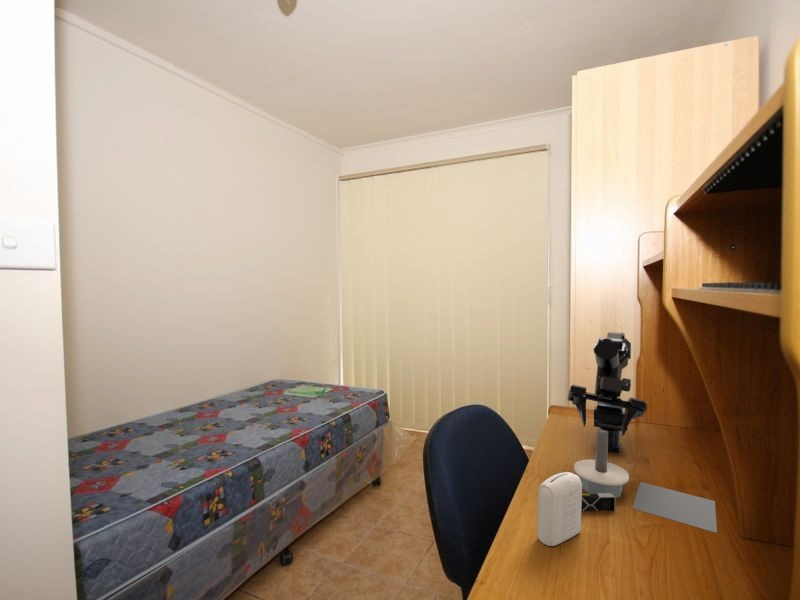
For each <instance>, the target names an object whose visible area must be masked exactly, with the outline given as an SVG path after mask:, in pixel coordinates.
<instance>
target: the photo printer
mask: <svg viewBox="0 0 800 600" xmlns="http://www.w3.org/2000/svg"><path fill="white" fill-rule="evenodd" d="M582 494H583V488H582V482H581V480H580V478H579V475H578V474H574V473H573V472H570V471H569V472H568V471H565V472H559V473H556V474H554V475H552V476H550V477H548V478H546V480H544V481H542V483H541V484H540V486H539V487H538V495H537V496H538V497H537V524H536V525H537V526H536V527H537V529H536V530H537V531H536V532H537V533H536V534H537V535H536V536H537V538H538V539H539V541H540V542H541V543H542V544H543V545H546V546H548V547H551V546H552V547H553V546H557V545H559V544H562V543H564V542H566V541H567V540H569V539H571V538H573V537H575V536H576V535H577V534H579V533H580V532H581V529H582V511H581V506H582Z"/></svg>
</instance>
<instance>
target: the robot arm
mask: <svg viewBox="0 0 800 600" xmlns="http://www.w3.org/2000/svg"><path fill="white" fill-rule="evenodd" d="M625 335H626V334H625V333H624V332H618V331H610V332H607V335H606V337H598V340H596V342H595V344H594V347H593V353H594V357H595V362H596V364H597V365H596V366H597V367H596V378H595V385H594V386H595V387H594V388H595V389H594V393H593V392H587V386H582V385H577V384H572V385H570V386H569V390H568V394H567V401H569V402H571V404H572V405H575V407H576V409H577V411H578V414H579V416H580V420H581V423H582V426H583V427H585V426H586V424H587V423H586V422H587V400H589V401H592V402H597V403H596V406H594V409H593V427H594V428H599V429H602V430H606V431H608V451H610V452H614V453H620V452H621V450H622V448H623V444H621V443H620V441H621V437H624V436H625V434H626V432H628V430H629V424H630V423H631V422H632V420H636V419H637V418H642V417H643V416H644V414H646V412H647V411H648V403H647V402H646V401H645V400H644V399H640V398H636V397H629V399H628V400H623V399H622V398H621V394H622V393H623V392H630V391H631V386H632V384H631V383H632V382H631V381H632V380H631V379H630V378H625V377H624V378H622V373H623V369H625V368H626V367H627V366H628V365H629V360H631V358H632V343H631V342H630V341H629V340H628V339H627V338H626V336H625Z"/></svg>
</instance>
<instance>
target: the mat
mask: <svg viewBox="0 0 800 600" xmlns="http://www.w3.org/2000/svg"><path fill="white" fill-rule="evenodd" d="M716 508H717V507H716V501H715V500H712V499H709V498H705V497H700V496H696V495H693V494H688V493H684V492H681V491H677V490H673V489H668V488H666V487H663V486H662V487H661V486H658V485H654V484H650V483H646V482H642V481H639V484H638V488H637V492H636V494H635V497H634V502H633V504H632V509H633V510H636V511H640V512H642V513H643V512H645V513H648V514H650V515H652V516H653V515H654V516H657V517H661V518H665V519H668V520H671V521H673V522H678V523H681V524H685V525H688V526H691V527H694V528H697V529H702V530H705V531H709V532H711V533H716V534H718V528H717V527H718V526H717V525H718V524H717V513H716V512H717V511H716Z"/></svg>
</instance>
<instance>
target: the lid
mask: <svg viewBox="0 0 800 600" xmlns="http://www.w3.org/2000/svg"><path fill="white" fill-rule="evenodd" d="M608 451H609V450H608V431H606V430H602V429H596V430H595V459H581V460H578V461H576V462H575V463H574V466H573V467H574V473H576V475H578V477H579V476H580V477H582V478H584V479H586V480H588V481H591V482H594V483H598V484H602V485H610V486H618V485H622V486H624V485H625V484H627V483H629V481H630V474H629V472H628V471H627V470H626V469H624V468H623V467H622V466H619V465H616V464H615V463H612V462H608Z"/></svg>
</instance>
